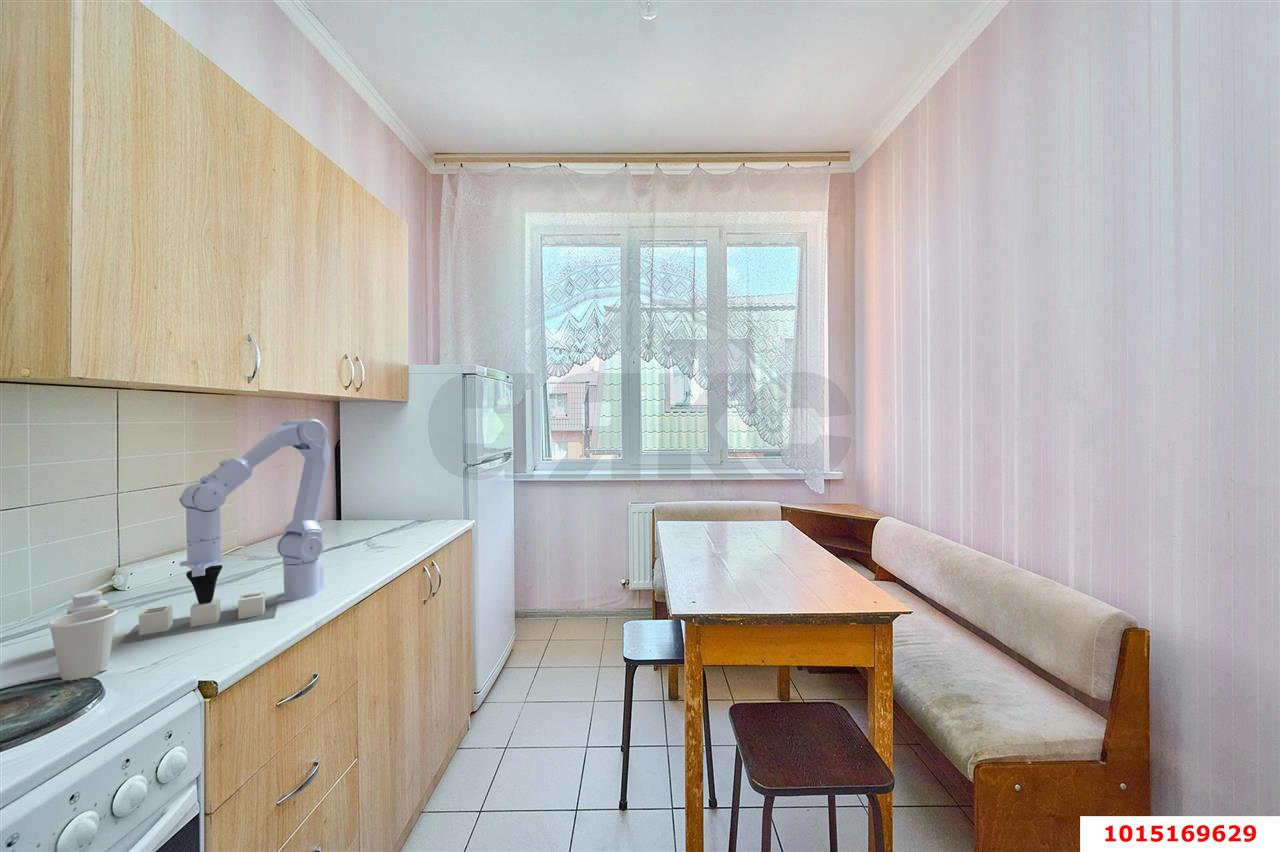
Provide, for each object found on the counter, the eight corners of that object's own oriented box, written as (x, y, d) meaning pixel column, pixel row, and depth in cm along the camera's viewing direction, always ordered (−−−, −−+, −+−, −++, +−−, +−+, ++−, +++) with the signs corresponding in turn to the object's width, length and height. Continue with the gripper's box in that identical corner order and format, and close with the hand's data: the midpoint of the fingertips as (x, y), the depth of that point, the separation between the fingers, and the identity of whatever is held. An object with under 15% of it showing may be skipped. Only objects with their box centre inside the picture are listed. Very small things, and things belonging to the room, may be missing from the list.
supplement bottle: (63, 654, 101) (62, 600, 101) (73, 644, 106) (71, 592, 106) (104, 647, 104) (103, 594, 104) (112, 637, 109) (110, 587, 109)
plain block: (194, 620, 116) (194, 601, 116) (220, 616, 118) (220, 598, 118) (190, 626, 112) (190, 607, 112) (217, 622, 114) (216, 603, 114)
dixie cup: (91, 662, 97) (90, 607, 97) (132, 663, 96) (130, 608, 96) (34, 684, 89) (32, 624, 89) (78, 686, 88) (76, 625, 88)
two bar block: (145, 628, 112) (144, 608, 112) (172, 623, 114) (172, 604, 114) (139, 635, 108) (138, 614, 108) (167, 630, 110) (167, 610, 110)
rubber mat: (278, 605, 127) (277, 602, 127) (274, 620, 116) (274, 617, 116) (136, 627, 114) (136, 625, 114) (118, 647, 104) (118, 644, 104)
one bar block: (241, 613, 120) (240, 594, 120) (265, 609, 122) (264, 591, 122) (238, 618, 116) (238, 600, 116) (263, 614, 119) (262, 596, 119)
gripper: (187, 535, 119) (188, 596, 119) (171, 548, 107) (173, 616, 107) (226, 531, 123) (228, 590, 123) (216, 543, 110) (218, 609, 111)
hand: (205, 602), depth 115 cm, fingers closed
